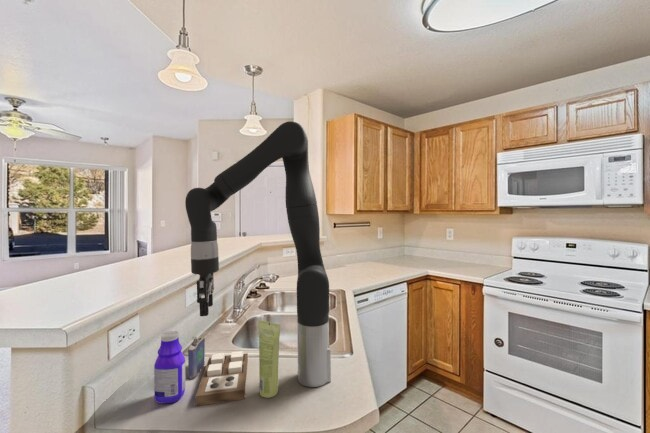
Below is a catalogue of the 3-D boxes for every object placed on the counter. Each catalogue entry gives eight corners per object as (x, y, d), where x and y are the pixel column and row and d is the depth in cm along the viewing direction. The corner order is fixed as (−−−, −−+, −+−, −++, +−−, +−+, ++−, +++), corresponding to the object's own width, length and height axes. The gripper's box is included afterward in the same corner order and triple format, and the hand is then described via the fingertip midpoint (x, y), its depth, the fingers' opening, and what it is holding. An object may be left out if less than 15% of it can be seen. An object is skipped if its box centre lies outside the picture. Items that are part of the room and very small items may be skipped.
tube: (279, 385, 82) (278, 317, 82) (281, 396, 77) (280, 324, 77) (258, 388, 81) (258, 319, 80) (259, 400, 76) (258, 326, 75)
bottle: (189, 391, 80) (188, 328, 79) (179, 404, 74) (178, 337, 74) (162, 391, 80) (161, 329, 79) (150, 405, 74) (149, 338, 74)
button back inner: (243, 358, 94) (243, 350, 94) (242, 364, 91) (242, 356, 91) (231, 359, 94) (231, 352, 94) (230, 365, 90) (230, 357, 90)
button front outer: (222, 371, 87) (222, 363, 87) (220, 378, 83) (220, 369, 83) (209, 372, 86) (209, 364, 86) (207, 379, 83) (207, 371, 82)
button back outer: (224, 360, 93) (224, 352, 93) (223, 366, 90) (223, 358, 90) (212, 361, 92) (212, 354, 92) (211, 367, 89) (210, 359, 89)
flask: (195, 379, 85) (194, 343, 85) (185, 379, 85) (184, 343, 85) (206, 363, 95) (205, 330, 94) (197, 363, 94) (196, 331, 94)
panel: (247, 360, 96) (247, 352, 96) (244, 398, 76) (244, 387, 76) (209, 365, 93) (209, 356, 93) (195, 405, 74) (195, 394, 74)
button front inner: (242, 368, 88) (242, 360, 88) (241, 375, 85) (241, 367, 85) (229, 370, 87) (229, 362, 87) (228, 377, 84) (228, 368, 84)
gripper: (215, 259, 79) (217, 317, 79) (221, 252, 93) (222, 302, 93) (185, 260, 77) (187, 321, 77) (195, 253, 91) (197, 304, 91)
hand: (206, 310), depth 85 cm, fingers open, 8 cm apart
